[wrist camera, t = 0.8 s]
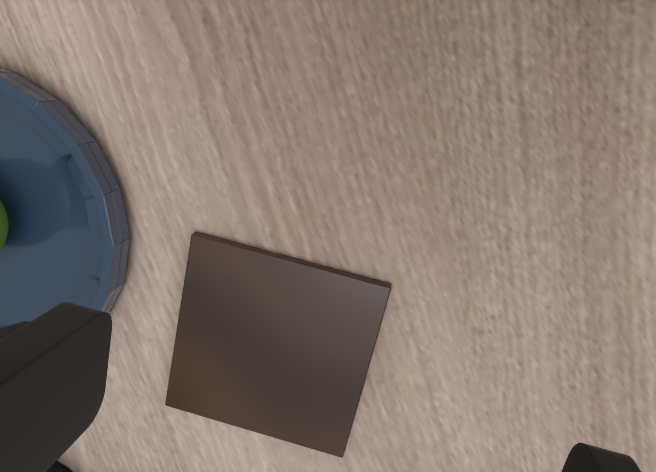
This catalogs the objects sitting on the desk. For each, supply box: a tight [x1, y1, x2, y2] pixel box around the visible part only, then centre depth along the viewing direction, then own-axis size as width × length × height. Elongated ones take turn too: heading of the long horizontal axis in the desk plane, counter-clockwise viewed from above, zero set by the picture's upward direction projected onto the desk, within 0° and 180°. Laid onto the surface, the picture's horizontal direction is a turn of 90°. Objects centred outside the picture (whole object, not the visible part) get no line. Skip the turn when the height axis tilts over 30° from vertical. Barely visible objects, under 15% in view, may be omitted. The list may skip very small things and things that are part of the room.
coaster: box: [165, 232, 391, 457], centre depth 30 cm, size 11×11×1 cm
